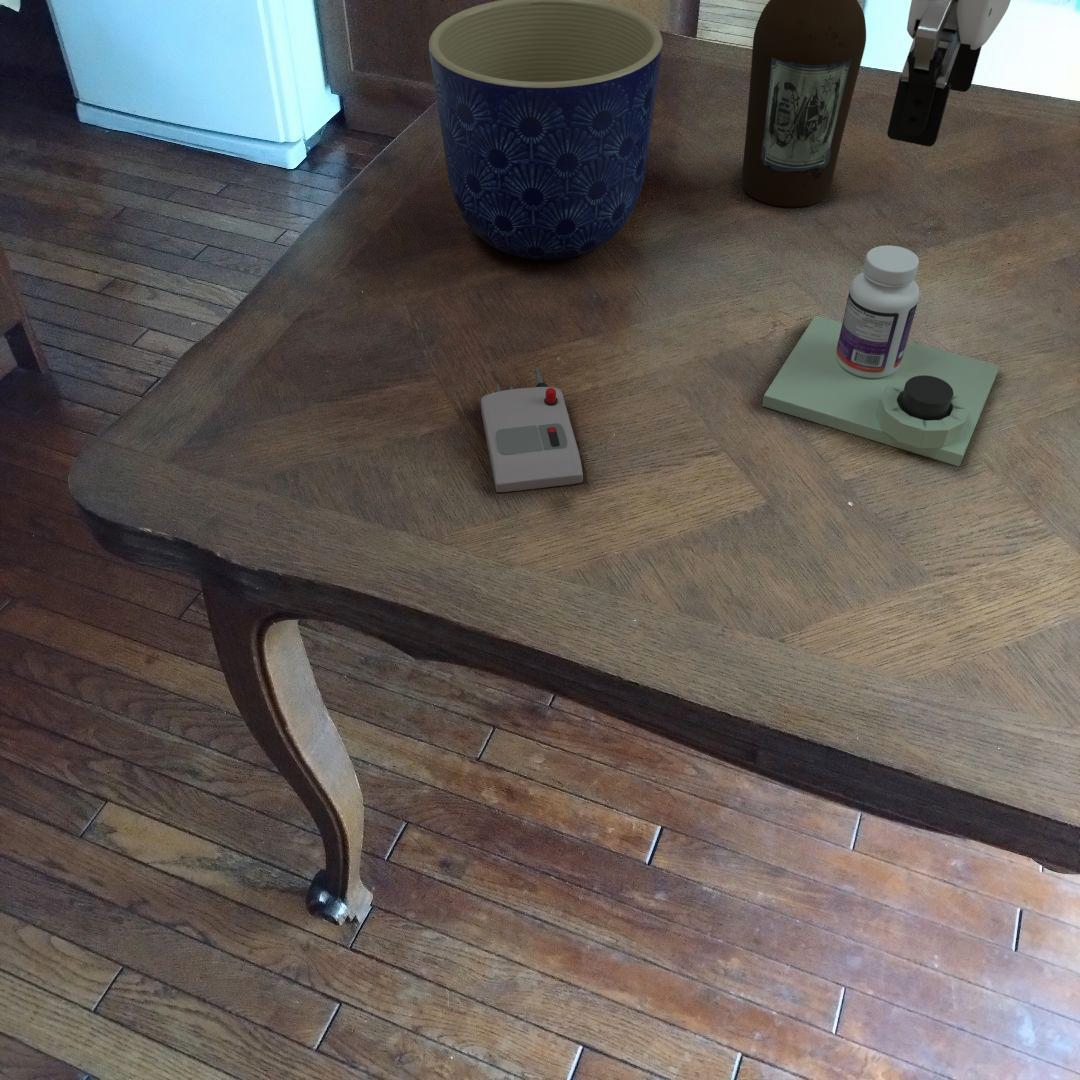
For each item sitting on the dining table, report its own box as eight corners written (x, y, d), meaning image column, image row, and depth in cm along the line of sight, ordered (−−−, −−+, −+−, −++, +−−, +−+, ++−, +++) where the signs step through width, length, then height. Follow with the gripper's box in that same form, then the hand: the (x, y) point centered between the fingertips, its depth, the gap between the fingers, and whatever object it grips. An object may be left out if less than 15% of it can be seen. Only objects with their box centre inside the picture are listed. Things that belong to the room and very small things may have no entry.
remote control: (499, 510, 79) (497, 480, 77) (475, 383, 90) (473, 354, 87) (587, 499, 79) (588, 469, 77) (553, 375, 90) (552, 346, 88)
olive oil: (734, 161, 117) (765, -93, 99) (831, 165, 116) (881, -91, 98) (736, 209, 110) (770, -57, 92) (840, 213, 109) (895, -54, 91)
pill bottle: (872, 335, 92) (898, 234, 85) (913, 369, 88) (944, 265, 81) (821, 352, 90) (843, 250, 83) (861, 387, 87) (887, 283, 80)
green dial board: (995, 376, 89) (1006, 347, 87) (956, 473, 81) (967, 443, 79) (812, 326, 95) (818, 297, 93) (758, 411, 87) (763, 382, 84)
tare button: (952, 401, 83) (958, 383, 82) (941, 427, 81) (947, 409, 80) (906, 388, 84) (912, 370, 83) (894, 413, 82) (899, 395, 81)
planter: (667, 196, 112) (682, 5, 98) (624, 301, 98) (635, 96, 84) (481, 173, 116) (471, -13, 102) (415, 271, 102) (393, 70, 89)
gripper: (1040, -133, 55) (953, 176, 68) (1094, -200, 66) (1010, 78, 78) (898, -149, 58) (839, 152, 70) (971, -211, 69) (909, 60, 81)
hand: (929, 113), depth 74 cm, fingers open, 9 cm apart
